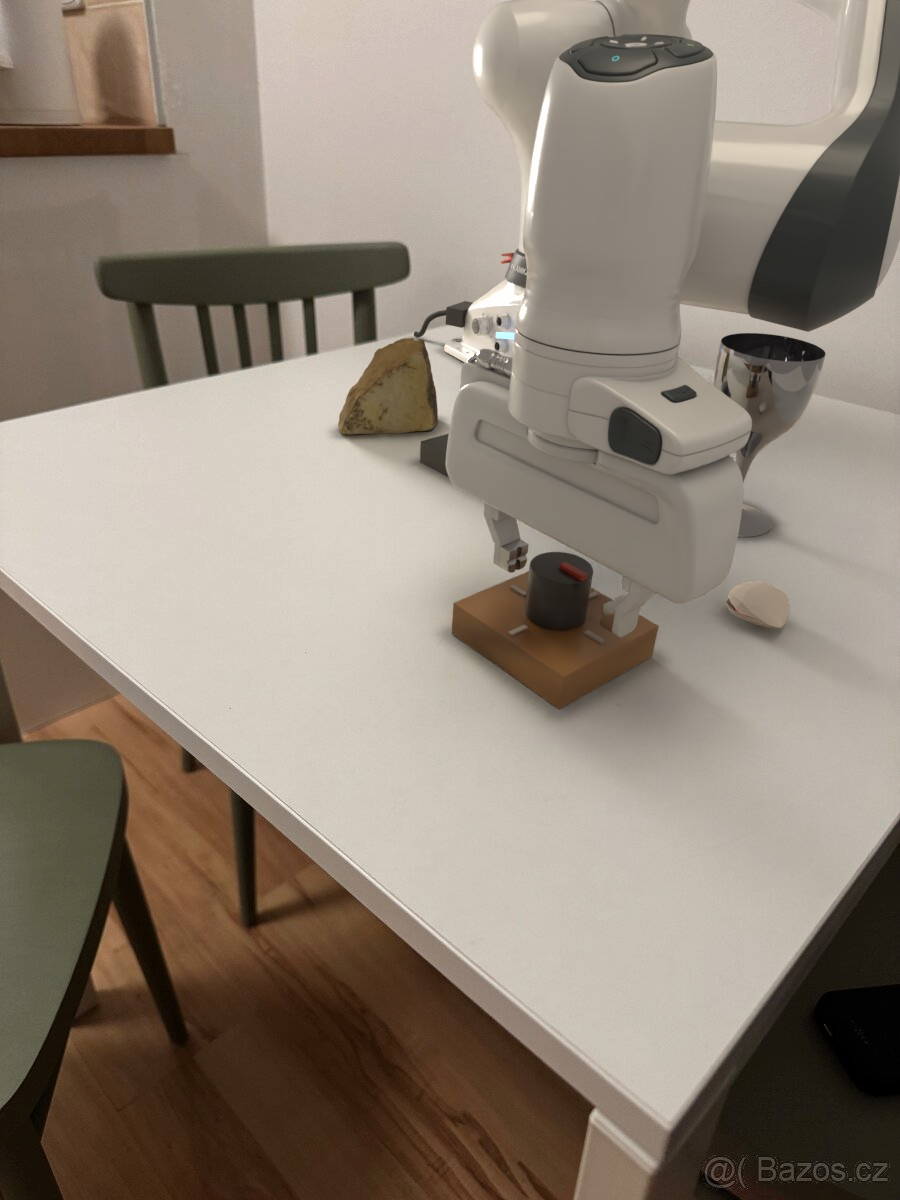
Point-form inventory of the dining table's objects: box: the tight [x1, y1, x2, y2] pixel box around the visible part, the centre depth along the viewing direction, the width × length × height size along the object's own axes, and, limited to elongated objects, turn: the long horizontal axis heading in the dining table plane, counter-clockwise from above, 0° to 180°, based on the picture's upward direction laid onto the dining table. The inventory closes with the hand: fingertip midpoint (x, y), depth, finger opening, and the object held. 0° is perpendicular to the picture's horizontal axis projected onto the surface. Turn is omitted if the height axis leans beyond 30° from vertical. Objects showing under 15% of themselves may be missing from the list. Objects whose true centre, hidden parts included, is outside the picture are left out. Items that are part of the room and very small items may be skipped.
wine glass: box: [713, 332, 826, 538], centre depth 70 cm, size 8×8×15 cm
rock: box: [337, 337, 439, 435], centre depth 87 cm, size 11×9×10 cm
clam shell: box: [726, 580, 791, 629], centre depth 59 cm, size 4×5×2 cm
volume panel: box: [451, 570, 659, 710], centre depth 55 cm, size 10×9×3 cm
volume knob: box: [525, 551, 594, 630], centre depth 54 cm, size 4×4×4 cm
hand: (560, 596), depth 54 cm, fingers open, 8 cm apart
